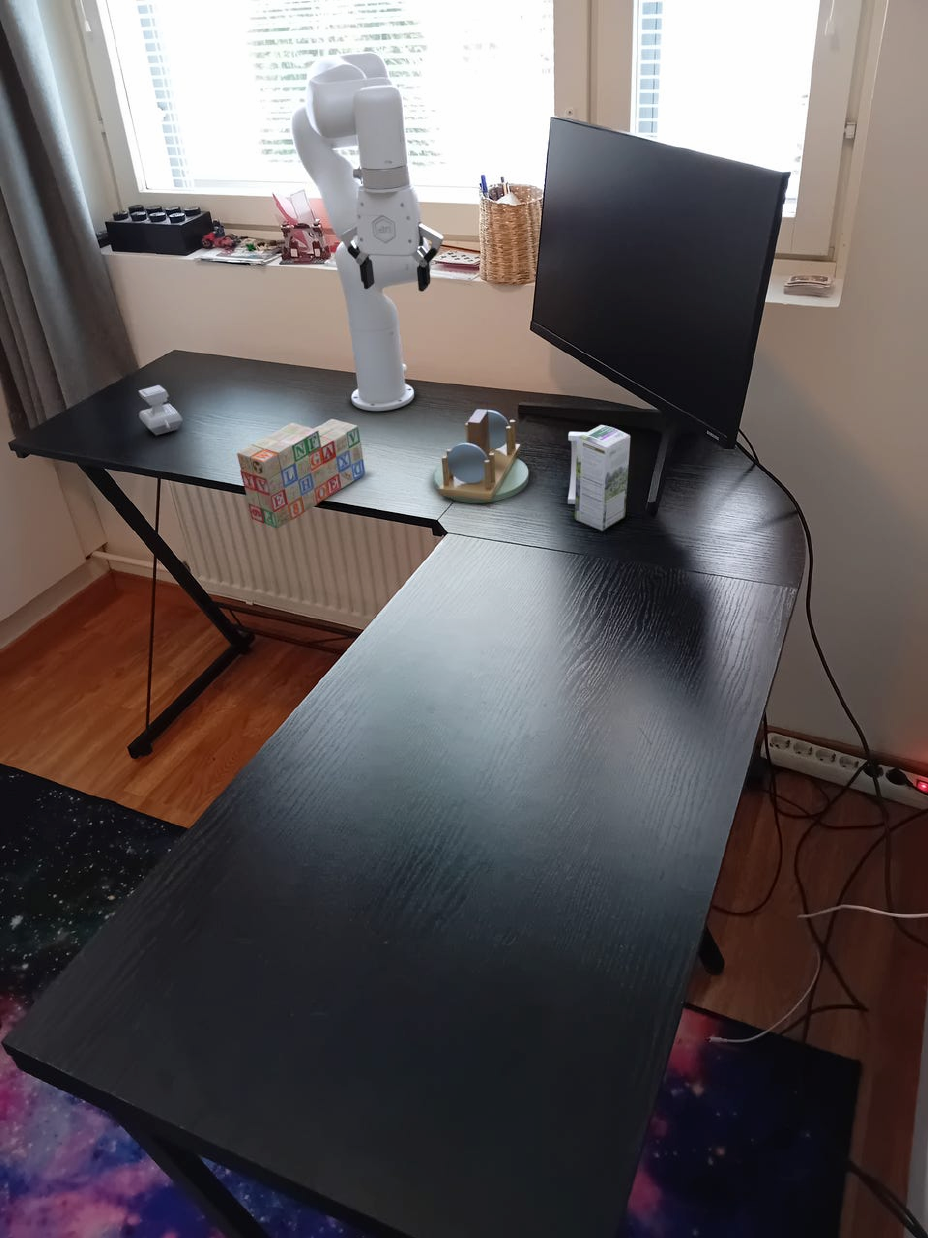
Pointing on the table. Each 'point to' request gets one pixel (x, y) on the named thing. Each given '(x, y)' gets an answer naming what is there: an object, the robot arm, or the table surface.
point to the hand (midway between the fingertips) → (396, 287)
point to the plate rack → (480, 457)
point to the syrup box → (601, 476)
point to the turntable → (509, 486)
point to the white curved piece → (573, 465)
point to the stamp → (159, 411)
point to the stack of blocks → (299, 469)
